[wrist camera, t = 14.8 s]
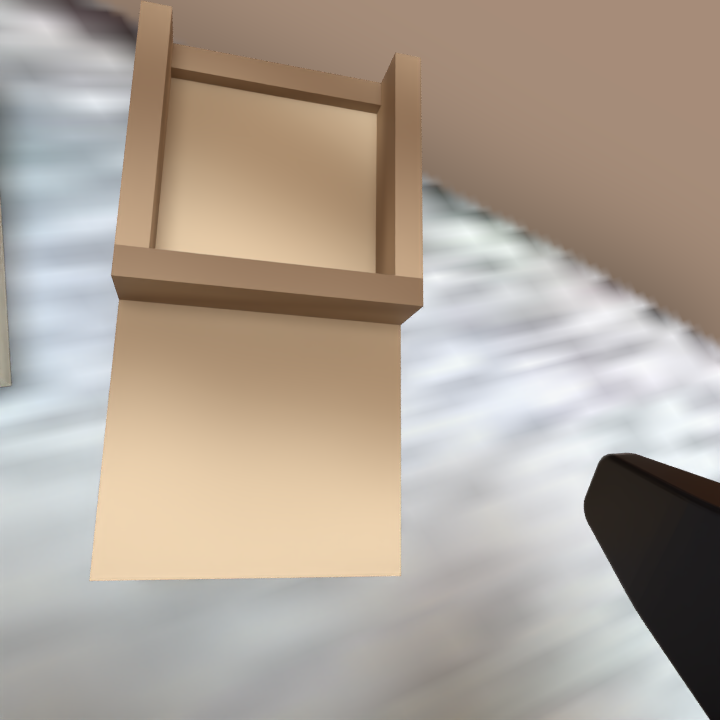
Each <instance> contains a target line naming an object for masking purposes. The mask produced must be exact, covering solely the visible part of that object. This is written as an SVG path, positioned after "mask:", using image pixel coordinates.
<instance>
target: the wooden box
mask: <svg viewBox="0 0 720 720" xmlns="http://www.w3.org/2000/svg"><path fill="white" fill-rule="evenodd" d="M172 24H173V22H172V7H171V6H165V5H161V4H156V3H150V2H146V1H141V7H140V16H139V25H138V34H137V43H136V52H135V61H134V71H133V80H132V89H131V98H130V107H129V116H128V126H127V135H126V144H125V153H124V162H123V171H122V180H121V190H120V199H119V208H118V217H117V226H116V235H115V245H114V254H113V263H112V272H111V276H112V279H113V282H114V285H115V289H116V292H117V295H118V298H119V305H118V315H117V324H116V334H115V343H114V353H113V362H112V372H111V381H110V391H109V400H108V410H107V419H106V429H105V438H104V448H103V457H102V467H101V476H100V486H99V495H98V505H97V514H96V524H95V533H94V543H93V552H92V562H91V571H90V581H112V580H175V579H239V578H302V577H365V576H401V324H402V323H404V322H405V321H406V320H407V319H408V318H410V317H411V316H412V315H413V314H414V313H416V312H417V311H418V310H419V309H420V308H422V307H423V236H422V141H421V140H422V138H421V58H419V57H414V56H409V55H404V54H399V53H395V55H394V57H393V59H392V61H391V63H390V66H389V68H388V70H387V72H386V74H385V76H384V79H383V80H382V83H378V82H373V81H367V80H362V79H357V78H352V77H346V76H341V75H336V74H331V73H326V72H321V71H315V70H310V69H305V68H300V67H294V66H289V65H284V64H279V63H273V62H268V61H263V60H258V59H252V58H247V57H242V56H237V55H232V54H226V53H221V52H216V51H211V50H205V49H200V48H195V47H190V46H185V45H179V44H174V43H173V26H172Z"/></svg>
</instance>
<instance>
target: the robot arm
mask: <svg viewBox="0 0 720 720" xmlns="http://www.w3.org/2000/svg"><path fill="white" fill-rule="evenodd" d="M584 513H585V517H586V520H587V522H588V524H589V526H590V528H591V530H592V531H593V533H594V535H595V537H596V539H597V541H598V542H599V544H600V546H601V548H602V550H603V552H604V553H605V555H606V557H607V559H608V561H609V563H610V564H611V566H612V568H613V570H614V572H615V574H616V575H617V577H618V579H619V581H620V583H621V585H622V586H623V588H624V590H625V592H626V594H627V596H628V597H629V599H630V601H631V602H632V604H633V606H634V608H635V609H636V611H637V613H638V614H639V616H640V617H641V619H642V620H643V622H644V623H645V625H646V626H647V628H648V629H649V631H650V632H651V634H652V635H653V637H654V638H655V640H656V641H657V643H658V644H659V646H660V647H661V649H662V650H663V652H664V653H665V654H666V656H667V657H668V659H669V660H670V662H671V663H672V665H673V666H674V668H675V669H676V671H677V672H678V674H679V675H680V677H681V678H682V679H683V681H684V682H685V684H686V685H687V687H688V688H689V690H690V691H691V693H692V694H693V696H694V697H695V699H696V700H697V702H698V703H699V705H700V706H701V707H702V709H703V710H704V712H705V713H706V715H707V716H708V718H709V719H710V720H720V483H719V482H716V481H713V480H710V479H707V478H704V477H701V476H698V475H695V474H693V473H690V472H687V471H684V470H681V469H678V468H675V467H672V466H669V465H666V464H663V463H661V462H658V461H655V460H652V459H649V458H646V457H643V456H640V455H637V454H633V453H617V454H607V455H605V456H603V457H602V458H601V460H600V461H599V463H598V465H597V468H596V470H595V473H594V476H593V478H592V481H591V483H590V486H589V488H588V491H587V494H586V496H585V500H584Z"/></svg>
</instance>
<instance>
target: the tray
mask: <svg viewBox="0 0 720 720" xmlns="http://www.w3.org/2000/svg"><path fill="white" fill-rule="evenodd" d="M6 386H11V370H10V353H9V336H8V319H7V302H6V285H5V268H4V251H3V234H2V216H1V199H0V387H6Z"/></svg>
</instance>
